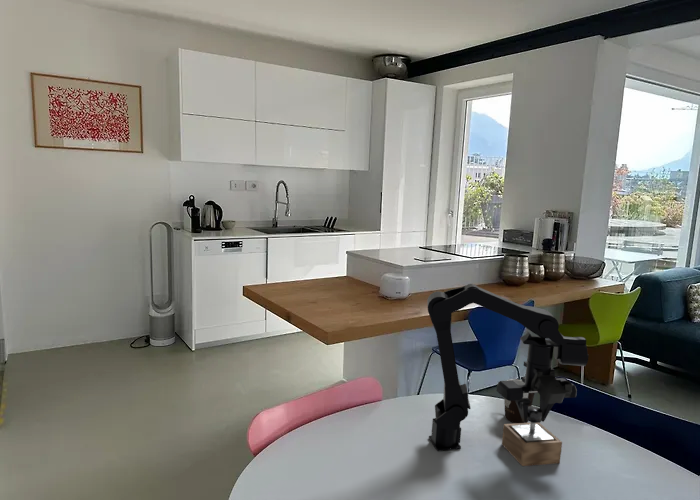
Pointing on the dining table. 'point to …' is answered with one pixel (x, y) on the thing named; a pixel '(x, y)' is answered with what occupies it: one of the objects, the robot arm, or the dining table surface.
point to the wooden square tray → (531, 447)
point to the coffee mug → (515, 407)
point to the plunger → (532, 427)
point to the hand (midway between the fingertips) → (533, 421)
